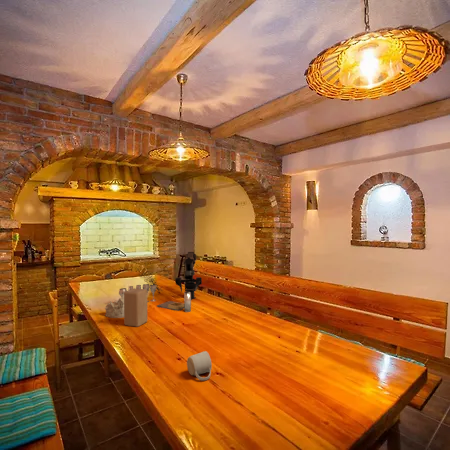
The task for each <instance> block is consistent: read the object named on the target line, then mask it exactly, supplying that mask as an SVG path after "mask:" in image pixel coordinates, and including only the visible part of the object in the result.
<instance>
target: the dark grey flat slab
mask: <svg viewBox="0 0 450 450" xmlns="http://www.w3.org/2000/svg"><path fill="white" fill-rule="evenodd" d="M156 308H162V309H167V310H173V311H176V312H177V311H181V310H184V302H177V301H174V300H173V301H172V300H169V301H166V302H163V303H160V304H158V305H156Z"/></svg>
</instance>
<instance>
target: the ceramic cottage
mask: <svg viewBox="0 0 450 450" xmlns="http://www.w3.org/2000/svg"><path fill="white" fill-rule="evenodd" d="M104 309H105V315H104V316H105V317H107V318H112V319H121V318H124V294H122V295H121V296H120V297H119V299H118V300H115V301H112V300H109V302H108V303H107V304H106V306H105V307H104Z"/></svg>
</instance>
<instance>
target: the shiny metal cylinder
mask: <svg viewBox="0 0 450 450" xmlns="http://www.w3.org/2000/svg"><path fill="white" fill-rule="evenodd" d="M183 293H184V296H183V297H184V298H183V300H184V302H183V303H184V309H183V311H184V313H191V312H192V310H191V309H192V300H191V292H190V291H184V292H183Z"/></svg>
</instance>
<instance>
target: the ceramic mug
mask: <svg viewBox="0 0 450 450" xmlns="http://www.w3.org/2000/svg"><path fill="white" fill-rule="evenodd" d="M186 366H187V370H188V373H189V374H190V375H191V376H195V377H196V378H197V379H198V380H199V381H202V382H203V381H207V380H210V378H211V374H212V372H211V371H212V369H213V368H212V359H211V356H210V354H209V352H208V351H206V350H205V351H202V352H199V353H196V354H193V355H190V356H188V358H187V360H186ZM205 373H209V374H208V376H206V377H203V376H200V375H201V374H202V375H203V374H205Z"/></svg>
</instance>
